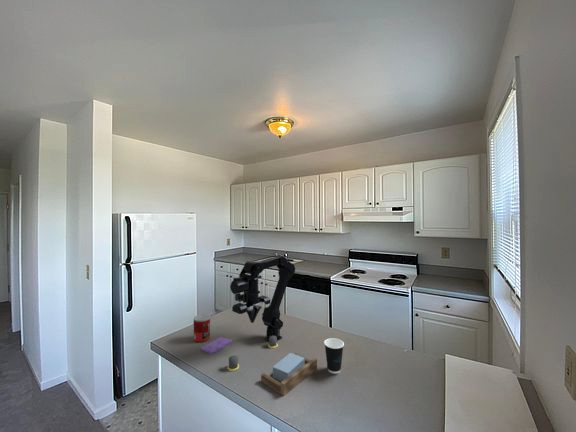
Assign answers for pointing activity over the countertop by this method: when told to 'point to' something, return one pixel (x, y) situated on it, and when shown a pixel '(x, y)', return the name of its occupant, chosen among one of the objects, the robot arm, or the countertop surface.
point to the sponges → (216, 345)
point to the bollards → (234, 359)
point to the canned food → (201, 328)
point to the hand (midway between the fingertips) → (252, 322)
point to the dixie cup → (334, 354)
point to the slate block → (287, 366)
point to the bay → (291, 377)
